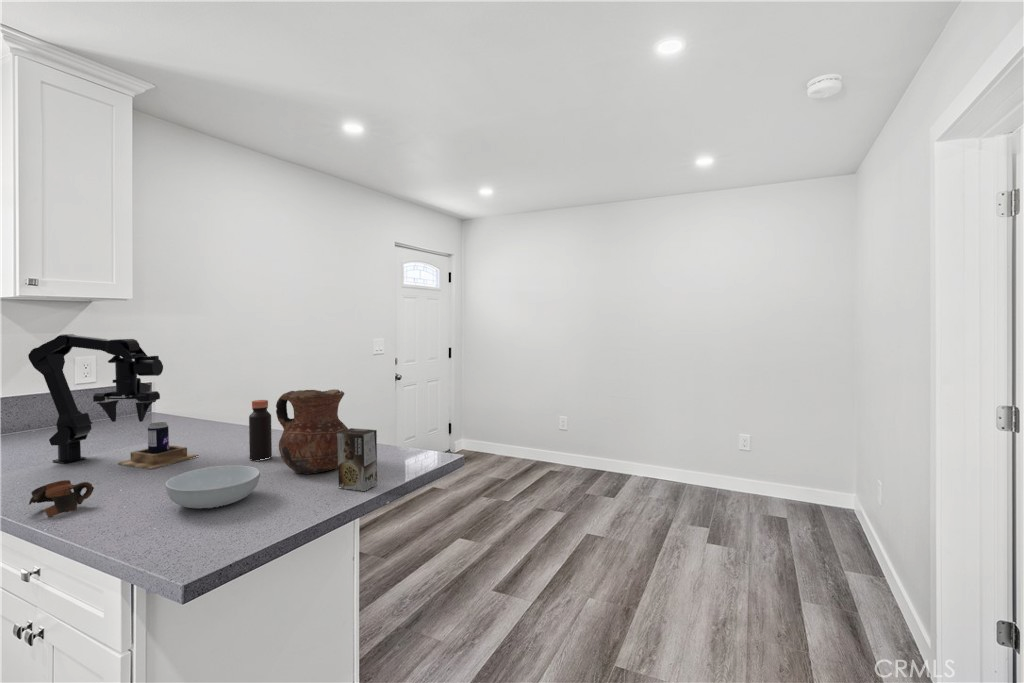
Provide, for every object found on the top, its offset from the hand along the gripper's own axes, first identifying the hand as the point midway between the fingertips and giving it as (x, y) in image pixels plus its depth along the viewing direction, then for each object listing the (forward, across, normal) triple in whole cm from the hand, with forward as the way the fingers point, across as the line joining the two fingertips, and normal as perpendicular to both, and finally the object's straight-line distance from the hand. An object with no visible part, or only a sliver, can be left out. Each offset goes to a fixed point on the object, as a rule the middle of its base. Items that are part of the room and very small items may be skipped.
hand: (127, 421), depth 165 cm
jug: (+13, -68, +10) cm, 70 cm away
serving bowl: (+14, -53, +40) cm, 68 cm away
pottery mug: (+13, -18, +44) cm, 50 cm away
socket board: (+13, -11, +1) cm, 17 cm away
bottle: (+13, -44, -1) cm, 46 cm away
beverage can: (+13, -11, +1) cm, 17 cm away
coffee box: (+13, -87, +28) cm, 92 cm away
